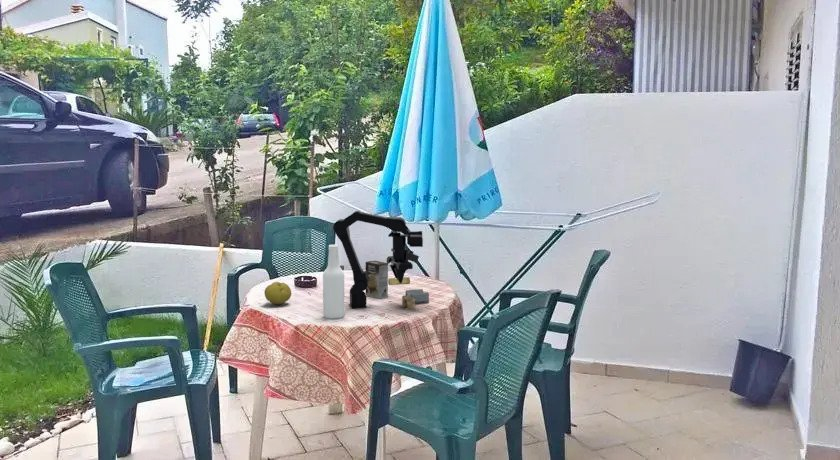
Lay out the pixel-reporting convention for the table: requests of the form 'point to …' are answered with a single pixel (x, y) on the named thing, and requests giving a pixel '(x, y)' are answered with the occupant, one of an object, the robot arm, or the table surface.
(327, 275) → the alcohol
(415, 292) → the v block
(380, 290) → the coffee box
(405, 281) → the axle
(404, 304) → the block
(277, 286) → the fruit
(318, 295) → the table surface
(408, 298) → the bearing block
